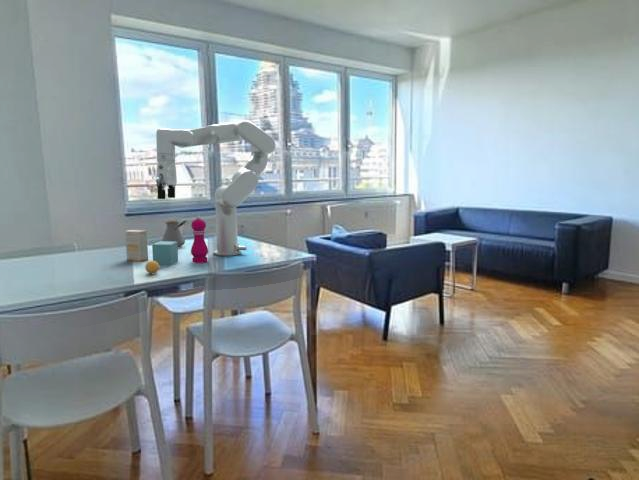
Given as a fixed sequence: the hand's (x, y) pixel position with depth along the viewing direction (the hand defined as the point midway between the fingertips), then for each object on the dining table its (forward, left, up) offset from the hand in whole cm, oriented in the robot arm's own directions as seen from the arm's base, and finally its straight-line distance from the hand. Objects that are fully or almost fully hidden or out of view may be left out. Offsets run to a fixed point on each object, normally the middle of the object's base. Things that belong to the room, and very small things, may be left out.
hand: (166, 198), depth 201 cm
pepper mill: (-16, +5, -27) cm, 32 cm away
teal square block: (-3, +10, -27) cm, 29 cm away
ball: (-5, +28, -24) cm, 38 cm away
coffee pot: (+5, -25, -27) cm, 37 cm away
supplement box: (+12, +4, -27) cm, 30 cm away
